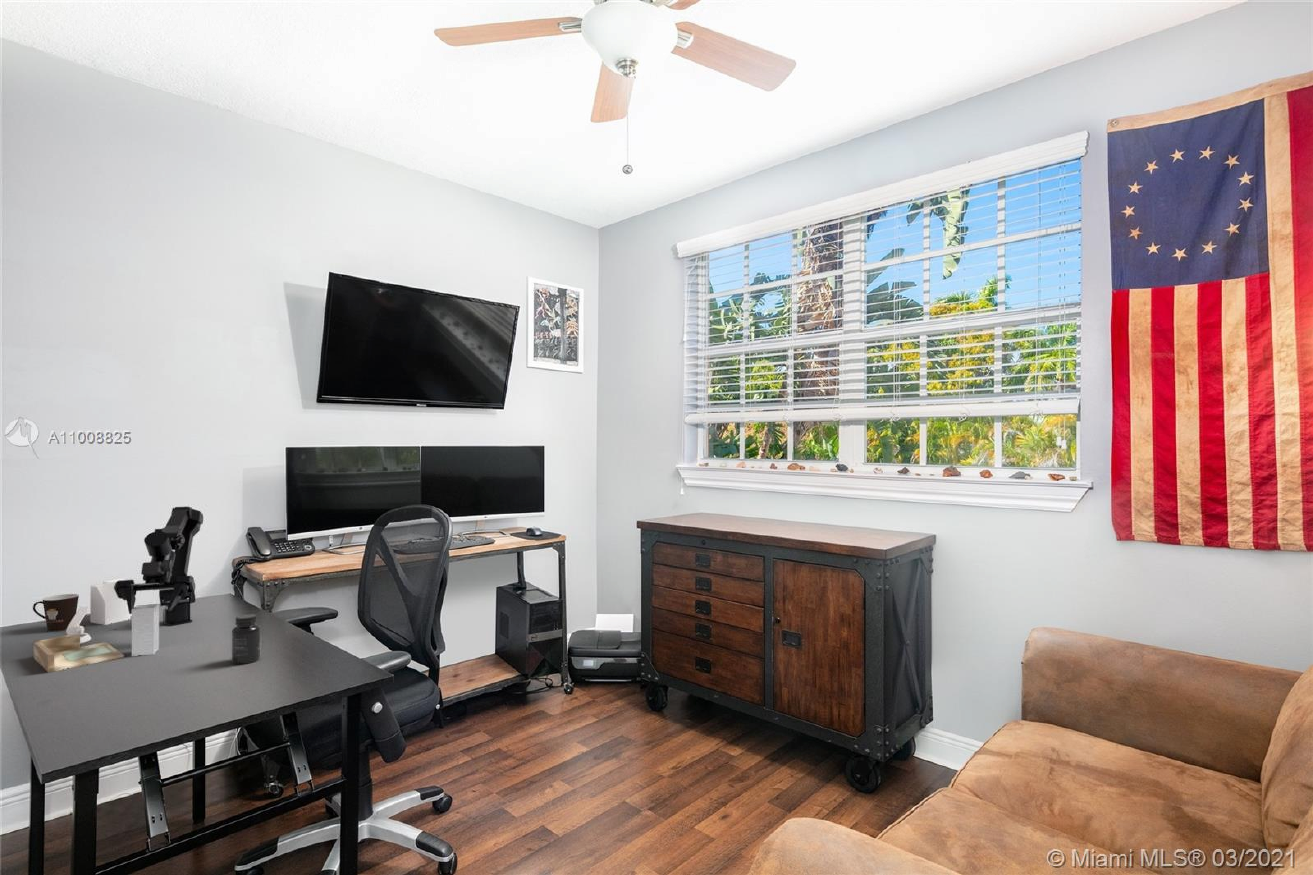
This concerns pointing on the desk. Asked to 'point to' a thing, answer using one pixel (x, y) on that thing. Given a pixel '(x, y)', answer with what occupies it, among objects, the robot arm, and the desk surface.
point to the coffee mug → (58, 611)
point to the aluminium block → (145, 629)
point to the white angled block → (107, 604)
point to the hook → (74, 625)
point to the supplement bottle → (246, 640)
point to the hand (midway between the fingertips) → (149, 611)
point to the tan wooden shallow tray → (71, 653)
